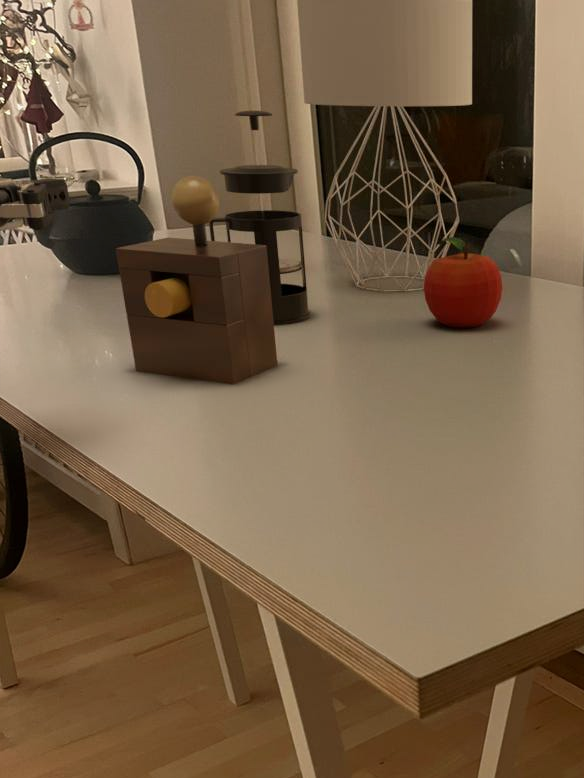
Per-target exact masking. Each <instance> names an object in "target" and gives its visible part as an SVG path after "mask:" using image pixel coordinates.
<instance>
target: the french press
mask: <svg viewBox="0 0 584 778" xmlns="http://www.w3.org/2000/svg"><path fill="white" fill-rule="evenodd" d="M234 116H236V117H248V118H249V124H250V125H249V126H250V131H253V139H254V141H253V142H254V150H255V160H256V161H255V162H256V164H249V165H248V164H247V165H238V166H235V167H230V168H223V169H220V170H219V174H220V175H223V176H224V185H225V191H226V192H229V193H232V194H233V193H235V194H252V195H254V194H255V195H256V194H258V195H259V201H260V203H259V205H260V210H244V211H234V212H230V213H226V214H225V215H224V216H223V217H222V216H221V217H219V216H218V217H214V219H213V220H211V221H210V222H209V223H208V229H209V235H210V241H216V240H215V239H216V238H215V231H214V223H225V229H226V237H227V242H231V241H232V240H231V234H230V233H231V232H230V231H234V232H235V231H236V232H246V233H247V232H249V233H253V239H254V244H257V245H266V247H267V258H268V269H269V279H270V290H271V301H272V311H273V322H274V326H285V325H286V326H287V325H293V324H298V323H302V322H305V321H308V320H309V319H310V318H311V311H310V310H309V301H308V289H307V287H308V286H307V277H306V276H307V275H306V262H305V261H306V260H305V250H304V249H305V248H304V238H303V237H304V236H303V225H302V214H301V213H300V212H297V211H291V210H290V211H289V210H277V209H276V210H272V209H271V210H268V209H267V210H266V209H265V203H264V194H281V193H286V192H288V191H289V190H290V188H291V186H292V185H293V180H294V177H295V175H297V174H299V172H298V169H297V168H292V167H283V166H280V165H275V164H273V165H272V164H261V163H260V162H261V161H260V151H259V139H258V131H260V122H259V117H273V114H272V113H271V112H268V111H266V110H265V111H264V110H242V111H238V112H236V113H234ZM292 230H298V239H299V253H300V260H297V259H291V258H279V245H278V237H277V236H278V235H277V232H284V231H292ZM231 243H232V242H231ZM299 271H301V276H302V277H301V278H302V285H299V284H294V283H293V284H292V283H282V280H281V275H286V274H291V273H295V272H299Z"/></svg>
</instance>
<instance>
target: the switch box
mask: <svg viewBox="0 0 584 778" xmlns="http://www.w3.org/2000/svg"><path fill="white" fill-rule="evenodd" d="M171 201H172V207H173V209H174V211H175V212H176V214H177V216H178V217H179V218H180V219H181V220H182V221H184V222H185V223H187V224H189V225H192V232H193V238H192V239H191V238H181V237H164V238H158V239H153V240H150V241H145V242H140V243H135V244H130V245H125V246H120V247H116V248H115V253H116V254H115V255H116V259H117V265H118V271H119V277H120V283H121V290H122V295H123V302H124V307H125V313H126V320H127V326H128V331H129V337H130V342H131V351H132V357H133V361H134V367H135V371H136V372H137V373H145V374H152V375H160V376H167V377H175V378H182V379H190V380H197V381H204V382H205V381H206V382H210V383H211V382H212V383H220V384H227V385H236V384H239V383H241V382H243V381H246V380H248V379H250V378H253V377H255V376H256V375H259V374H261V373H264V372H266V371H268V370H271V369H274V368H275V367H278V357H277V355H278V353H277V345H276V334H275V325H274V322H273V311H272V301H271V290H270V279H269V269H268V258H267V247H266V245H257V244H255V243H242V242H228V241H216V240H215V241H211V240H208V238H207V231H206V224H209V222H210V221H211V220H213V219H214V218H216V216H217V214H218V212H219V208H220V200H219V194H218V192H217V190H216V189H215V187H214V186H213V184H211V182H210V181H209V180H207V179H205V178H203V177H201V176H198V175H189V176H185V177H182V178H181V179H180V180H178V182H177V183H176V184H175V185H174V187H173V190H172V194H171ZM170 278H179V279H181V280H182V281H183V282H185V283H186V285H187V286H188V288H189V290H190V293H191V305H190V307H189V308H188V309H187V310H186V311H183V312H180V313H177V314H174V315H171V316H167V317H158V316H156V315H154V314H153V313H152V312H151V311H150V310H149V308H148V306H147V304H146V301H145V290H146V288H147V287H148V285H149V284H151V283H154V282H158V281H162V280H166V279H170Z"/></svg>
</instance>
